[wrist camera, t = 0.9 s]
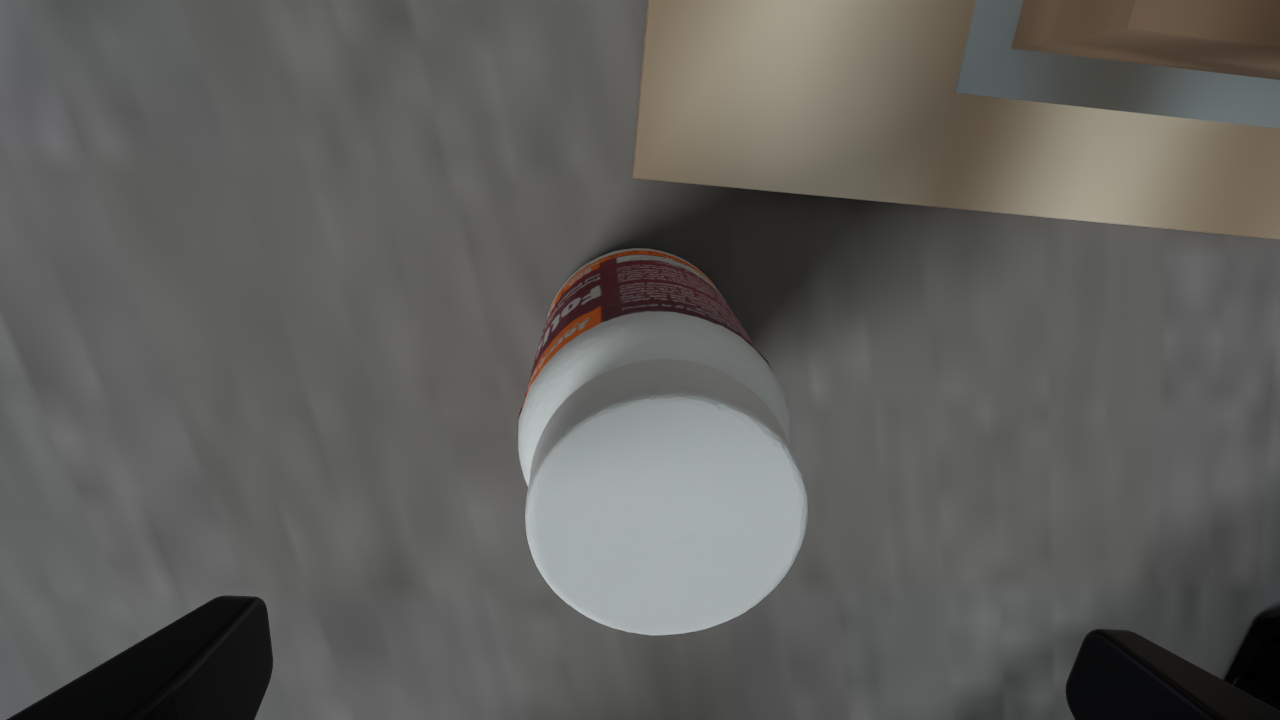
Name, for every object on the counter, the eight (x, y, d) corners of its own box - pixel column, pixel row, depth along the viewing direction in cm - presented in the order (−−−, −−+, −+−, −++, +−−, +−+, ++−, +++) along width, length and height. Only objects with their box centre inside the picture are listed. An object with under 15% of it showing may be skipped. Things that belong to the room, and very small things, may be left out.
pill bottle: (565, 225, 16) (531, 328, 8) (751, 270, 17) (889, 407, 9) (528, 401, 17) (469, 633, 10) (700, 436, 18) (776, 680, 10)
